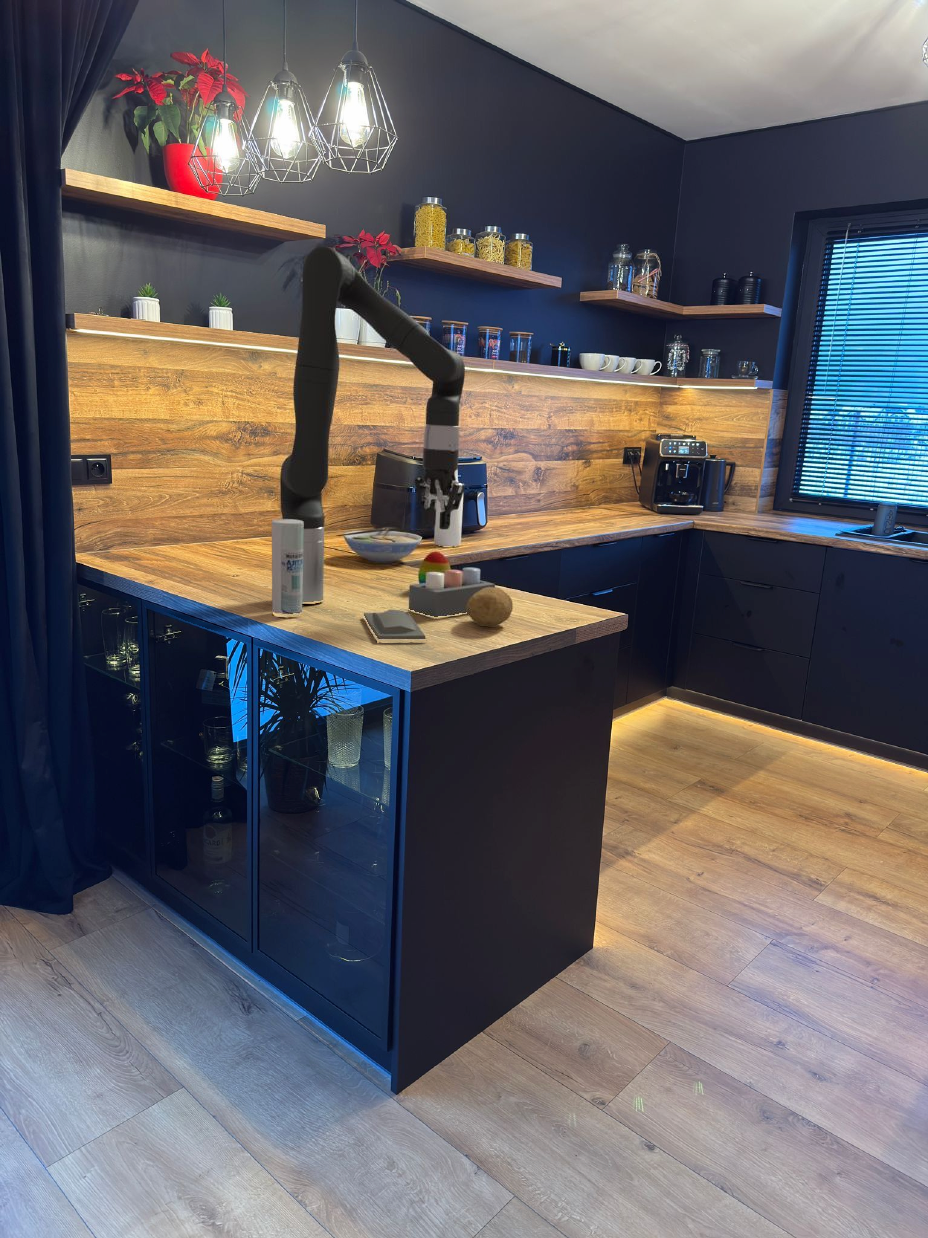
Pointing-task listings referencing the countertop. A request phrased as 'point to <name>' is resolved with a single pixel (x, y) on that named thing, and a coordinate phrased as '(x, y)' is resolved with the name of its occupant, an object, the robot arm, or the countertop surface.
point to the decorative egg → (433, 565)
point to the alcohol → (454, 531)
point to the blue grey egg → (471, 576)
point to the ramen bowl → (382, 544)
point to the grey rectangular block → (443, 598)
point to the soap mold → (394, 625)
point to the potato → (489, 606)
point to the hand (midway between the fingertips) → (437, 527)
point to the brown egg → (453, 578)
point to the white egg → (434, 580)
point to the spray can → (287, 565)
